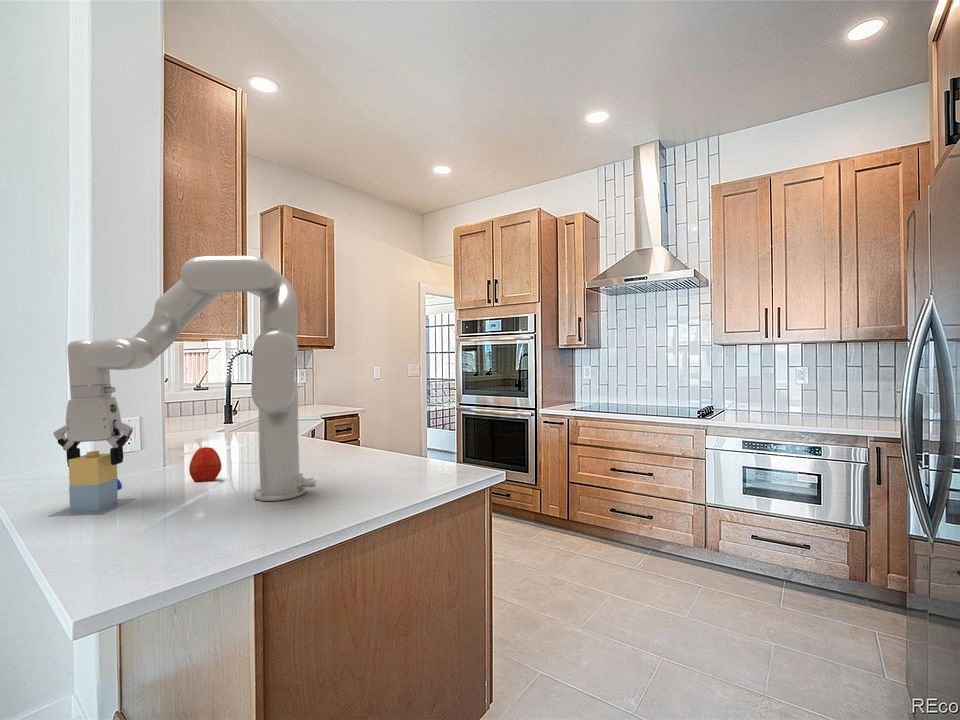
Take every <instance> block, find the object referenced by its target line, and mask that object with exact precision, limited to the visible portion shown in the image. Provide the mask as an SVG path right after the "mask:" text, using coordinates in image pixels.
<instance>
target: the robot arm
mask: <svg viewBox="0 0 960 720" xmlns="http://www.w3.org/2000/svg"><path fill="white" fill-rule="evenodd" d="M235 292H238V293H239V292H241V293H242V292H243V293H244V292H245V293H246V292H248V293H250V294H252V295H254V296H256V297H259V298H260V300H261V302H262V311H261V332H260V334H259V335H258V336H257V337H256V338H255V341H254V344H253V347H252V348H253V349H252V359H251V360H252V361H251V365H252V366H251V387H250V388H251V391H250V392H251V399H252V401H253V403H254V405H255V407H256V408H258V454H259V455H258V456H259V459H258V460H259V488H258V489H256V490H255V491H254V492H253V498H254V499H255V500H256V501H260V502H261V501H263V502H275V501H276V502H277V501H284V500H290V499H293V498H294V499H295V498H297V497H300V496H302V495H304V494H305V493H306V492H307V488H315V487H316V486H317V480H316V479H314V477H313V478H311V477H310V478H305V477H304V473H300V447H299V446H300V443H299V442H300V441H299V389H298V385H297V383H296V381H295V370H296V358H297V355H298V351H299V348H298V345H299V344H298V299H297V298H298V297H297V294H296V291H295V289H294V287H293V284H292V283H291V282H290V281H289V280H288V279H287V277H286V276H284V275H283V274H281V273H280V272H278V271H277V270H276V269H274V268H273V267H272V266H271V264H269V263H268V262H267V261H266V260H264V259H263V258H261V257H258V256H252V255H213V256H212V255H202V256H196V257H191V258H190V259H188V260H186V261H185V262H184V263H183V265H182V267H181V270H180V279H179V280H177V282H176V283H175V284H174V285H173V286H171V287H170V288H169V289H167V290H166V291H165V292H164V293H163V294H162V295H161V296H159V297H158V299H156V301H155V303H154V312H153V315H152V316H151V318H150V320H149V321H148V322H147V324H146V325H144V326H143V327H142V328H141V329H140V330H139V331H138V332H137V333H136V334H135V335H133V336H132V337H130V338H127V337H120V338H119V337H118V338H111V339H110V338H109V339H103V340H98V339H96V340H95V339H94V340H93V339H87V340H86V339H85V340H82V339H81V340H72V341H71V342H69V343H68V345H67V362H68V364H67V365H68V378H69V390H70V391H69V393H70V399H68V402H67V406H66V407H67V408H66V415H65V425H64V426H62V427H60V428H58V429H56V430H55V431H54V432H53V436H54V437H55V440H56V441H57V444H59V445H60V446H61V448H62V450H63V451H66V463H67V468H69V461H68V460H69V459H73V458H76V457H80V456H81V449H80V447H78V446H79V445H80V444H81V443H84V442H86V443H87V442H101V441H102V442H103V441H106V442H107V443H108V444H109V445H110V446H111V448H110V449H109V453H110V456H111V465H116V464H117V465H119V464H122V463H123V462H124V446H125V445H126V443H127V442H128V441H129V440H130V439H131V435H132V434H133V431H134V428H133V426H130V425H129V424H126V423H123V422H122V418H121V413H120V409H119V405H118V401H117V399H116V397H115V396H112V393H115V392H116V391H117V390H116V387H115V386H112V384H111V373H110V372H111V371H110V370H113V371H114V370H116V371H126V370H127V371H128V370H137V369H142V368H144V367H147V366H149V365H150V364H151V363H152V362H154V361H155V360H156V359H157V358H159V356H161V355H162V354H163V353H164V352H165V351H166V350H167V349H169V348H170V347H171V345H172V344H173V343H174V342H175V341H176V340H177V339H178V338H179V336H180V335H181V334H182V332H184V330H185V329H186V327H187V326H188V325H189V324H190V323H191V322H192V321H193V320H194V319H195V318H196V317H198V315H200V314H201V313H202V312H203V311H204V310H205V309H206V308H207V307H208V306H209V305H210V304H212V303H213V302H214V301H215V300H216V299H218V297H220V296H221V294H223V293H235Z"/></svg>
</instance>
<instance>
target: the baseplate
mask: <svg viewBox="0 0 960 720" xmlns="http://www.w3.org/2000/svg"><path fill="white" fill-rule="evenodd" d="M137 499H138V498H136V497H135V498H134V497H133V498H132V497H131V498H118V502H117V503H115V504H113V505H111V506H108V507H106V508H104V509H102V510H100V511H78V512H70V506H69V507H66V508H65V509H62V510H60V511H57V512H55V513H52V514H49V515H47V517H48V518H49V517H50V518H51V517H69V516H70V517H73V516H74V517H75V516H94V515H95V516H97V515H98V516H99V515H102V516H103V515H106V514H107V513H109V512H111V511H113V510H115V509H118V508H120V507H122V506H124V505H126V504H129V503H131V502H132V501H135V500H137Z"/></svg>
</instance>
